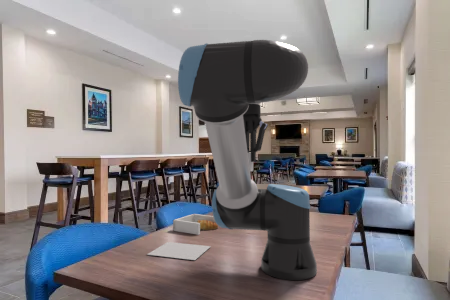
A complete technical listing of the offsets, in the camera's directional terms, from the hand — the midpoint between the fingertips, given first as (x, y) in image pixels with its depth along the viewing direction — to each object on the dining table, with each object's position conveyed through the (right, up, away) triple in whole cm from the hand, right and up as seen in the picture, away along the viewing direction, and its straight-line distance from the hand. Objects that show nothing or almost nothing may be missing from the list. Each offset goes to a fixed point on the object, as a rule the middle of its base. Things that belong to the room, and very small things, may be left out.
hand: (249, 171), depth 103 cm
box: (-21, -27, +24) cm, 42 cm away
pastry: (-17, -27, +25) cm, 40 cm away
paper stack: (-18, -27, -3) cm, 33 cm away
